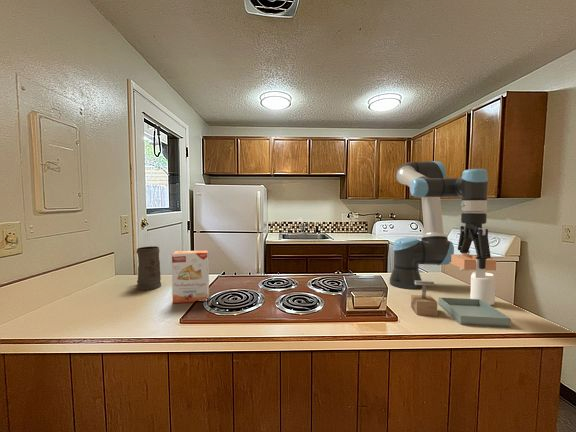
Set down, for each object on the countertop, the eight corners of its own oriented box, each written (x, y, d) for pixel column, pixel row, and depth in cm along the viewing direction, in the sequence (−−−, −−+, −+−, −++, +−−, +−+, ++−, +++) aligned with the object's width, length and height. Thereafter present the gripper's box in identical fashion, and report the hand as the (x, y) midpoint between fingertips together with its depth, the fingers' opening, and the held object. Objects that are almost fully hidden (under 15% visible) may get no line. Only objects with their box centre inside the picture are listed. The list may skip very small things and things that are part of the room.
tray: (438, 304, 109) (438, 297, 109) (479, 306, 107) (479, 299, 107) (460, 324, 91) (460, 315, 91) (510, 327, 89) (510, 318, 89)
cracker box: (172, 304, 111) (171, 253, 110) (175, 299, 117) (174, 250, 116) (207, 301, 113) (207, 252, 112) (209, 297, 119) (208, 249, 118)
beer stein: (166, 285, 135) (164, 245, 135) (145, 291, 126) (143, 248, 126) (149, 283, 143) (146, 245, 143) (128, 288, 134) (125, 248, 134)
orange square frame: (451, 263, 104) (451, 254, 104) (482, 264, 102) (482, 255, 102) (464, 269, 94) (464, 259, 94) (499, 270, 93) (499, 260, 92)
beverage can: (498, 306, 107) (499, 276, 106) (475, 305, 108) (476, 275, 108) (488, 299, 115) (488, 271, 114) (466, 298, 116) (467, 270, 116)
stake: (410, 307, 107) (411, 278, 106) (429, 308, 106) (430, 279, 105) (416, 314, 100) (417, 283, 99) (437, 315, 99) (437, 284, 98)
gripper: (448, 211, 109) (447, 266, 110) (479, 213, 87) (477, 282, 88) (468, 211, 108) (467, 267, 109) (505, 213, 86) (503, 283, 87)
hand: (472, 273), depth 99 cm, fingers closed on orange square frame, 10 cm apart
